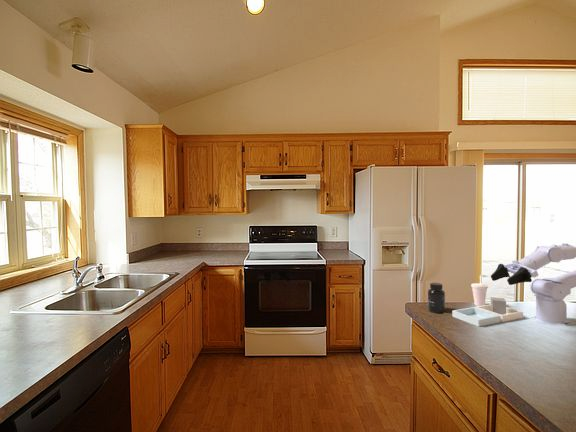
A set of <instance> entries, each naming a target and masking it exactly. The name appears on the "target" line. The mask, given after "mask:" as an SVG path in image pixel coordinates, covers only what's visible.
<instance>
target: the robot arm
mask: <svg viewBox="0 0 576 432" xmlns="http://www.w3.org/2000/svg"><path fill="white" fill-rule="evenodd" d="M573 259H576V246H574V245H572V244H569V243H564V242H563V243H561V244H559V245H557V244H551V245H550V246H549V245H547V246H546V245H540V246H536V247H535V249H534V251H533V252H531V253H530V254H528V255H526V256H524V257H523V258H521V259H518V260H516V259H512V262H511V263H507V264H503V263H499V264H498V265H497V268H496V269H495V271H494V272H492V274H491V275H490V278H491V280H492V281H493V282H494V281H498V280H500V279H503V278H507V279H506V281H507V283H508V285H509V286H512V285H517V284H520V283H530V284H529V285H530V286H529V287H530V291H531V292H532V294H534V295H533V296H534V297H535V304H536V305H535V315H536V316H532V317H530V319H533V320H537V321H540V322H543V323H547V324H550V325H554V326H555V325H559V324H560V325H561V324H567V323H570V322H571V321H569V320H568V318H567V315H568V313H567V303H566V302H565V300H564V299H565V298H566V297H567V296H570V295H571V293H572V290H571V289H574V288H576V269H575V270H572V271H569V272H567V273H564V274H561V275H559V276H556V277H544V278H537V277H538V276H539V273H538V271H537V270H540V269H541V268H543V267H545V266H546V265H548V264H550V263H551V262H552V263H557V264H558V263H561V261H566V260H567V261H568V260H573ZM509 272H510V273H511V274H512V275H511V276H510V273H509ZM532 278H535V279H533V280H532Z"/></svg>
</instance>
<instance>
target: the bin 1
mask: <svg viewBox="0 0 576 432" xmlns="http://www.w3.org/2000/svg"><path fill="white" fill-rule="evenodd" d="M451 313H452V317H453V318H455V319H458V320H460V321H463V322H465V323H468V324H471V325H473V326H476V327H484V326H488V325H495V324H500V323H502V322H501V320H500V316H499V315H496V314H493V313H490V312H487V311H484V310H480V309H477V308H475V306H472V307H466V308H460V309H454V310H453V309H452V311H451Z"/></svg>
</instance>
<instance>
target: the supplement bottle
mask: <svg viewBox="0 0 576 432" xmlns="http://www.w3.org/2000/svg"><path fill="white" fill-rule="evenodd" d="M429 285H430V286H429V289H428V290H427V309H428V311H429V312H431V313H434V314H444V312H446V292H445V291H444V290H443V284H442V283H440V282H431V283H430V284H429Z"/></svg>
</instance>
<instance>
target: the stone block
mask: <svg viewBox="0 0 576 432" xmlns="http://www.w3.org/2000/svg"><path fill="white" fill-rule="evenodd" d="M490 304H491V311H492V312H495V313H498V314H501V315H503V314H506V307H507V300H506V299H505V298H503V297H490Z"/></svg>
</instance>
